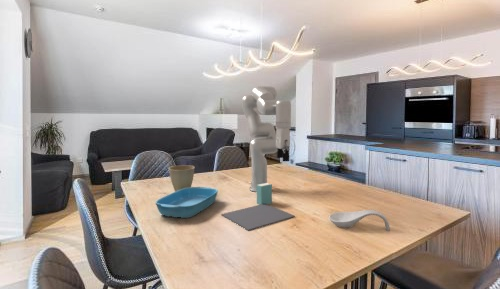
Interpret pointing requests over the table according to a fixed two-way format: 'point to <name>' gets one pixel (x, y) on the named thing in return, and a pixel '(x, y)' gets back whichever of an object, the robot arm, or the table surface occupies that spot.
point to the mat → (257, 216)
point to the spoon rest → (354, 218)
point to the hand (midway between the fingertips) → (282, 159)
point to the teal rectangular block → (264, 193)
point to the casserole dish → (186, 201)
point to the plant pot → (181, 176)
